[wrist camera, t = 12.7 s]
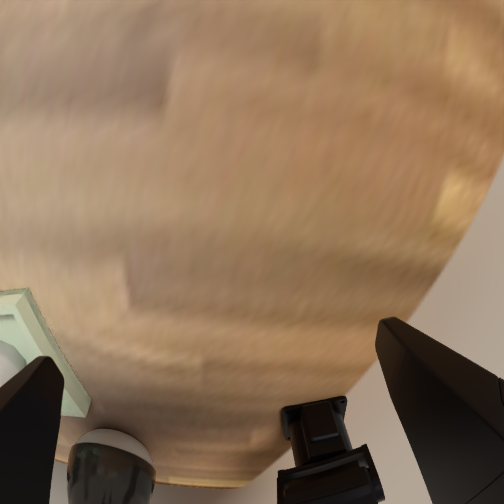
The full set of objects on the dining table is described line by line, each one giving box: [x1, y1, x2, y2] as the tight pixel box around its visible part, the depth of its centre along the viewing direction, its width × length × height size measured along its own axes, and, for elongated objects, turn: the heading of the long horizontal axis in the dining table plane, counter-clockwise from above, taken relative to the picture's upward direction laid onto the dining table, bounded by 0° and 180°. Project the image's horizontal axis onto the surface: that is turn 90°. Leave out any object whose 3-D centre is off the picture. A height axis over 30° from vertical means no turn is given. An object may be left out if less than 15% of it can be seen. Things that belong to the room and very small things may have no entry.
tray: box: [0, 288, 92, 417], centre depth 23 cm, size 14×14×2 cm
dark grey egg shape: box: [67, 429, 156, 504], centre depth 24 cm, size 10×10×15 cm
